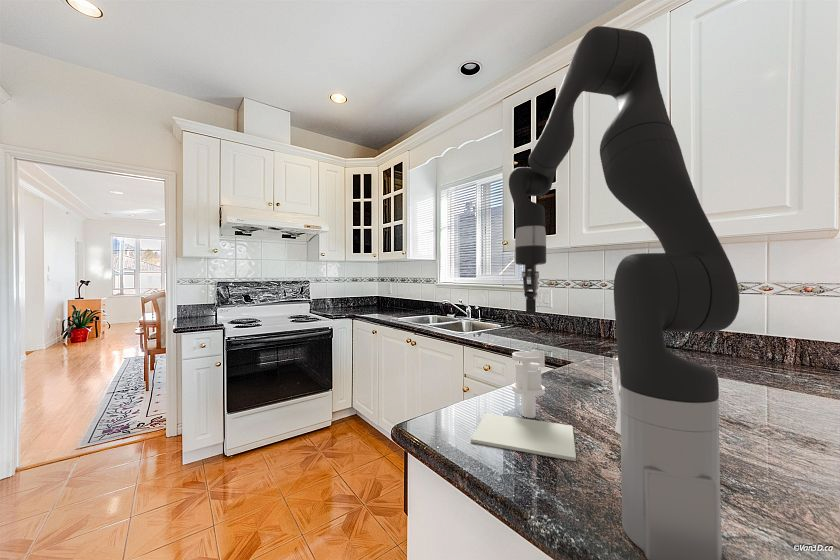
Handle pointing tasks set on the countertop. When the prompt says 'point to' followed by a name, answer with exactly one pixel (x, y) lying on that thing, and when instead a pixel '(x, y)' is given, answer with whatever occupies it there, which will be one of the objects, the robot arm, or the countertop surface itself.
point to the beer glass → (617, 391)
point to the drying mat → (526, 436)
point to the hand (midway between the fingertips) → (530, 313)
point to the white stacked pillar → (529, 379)
